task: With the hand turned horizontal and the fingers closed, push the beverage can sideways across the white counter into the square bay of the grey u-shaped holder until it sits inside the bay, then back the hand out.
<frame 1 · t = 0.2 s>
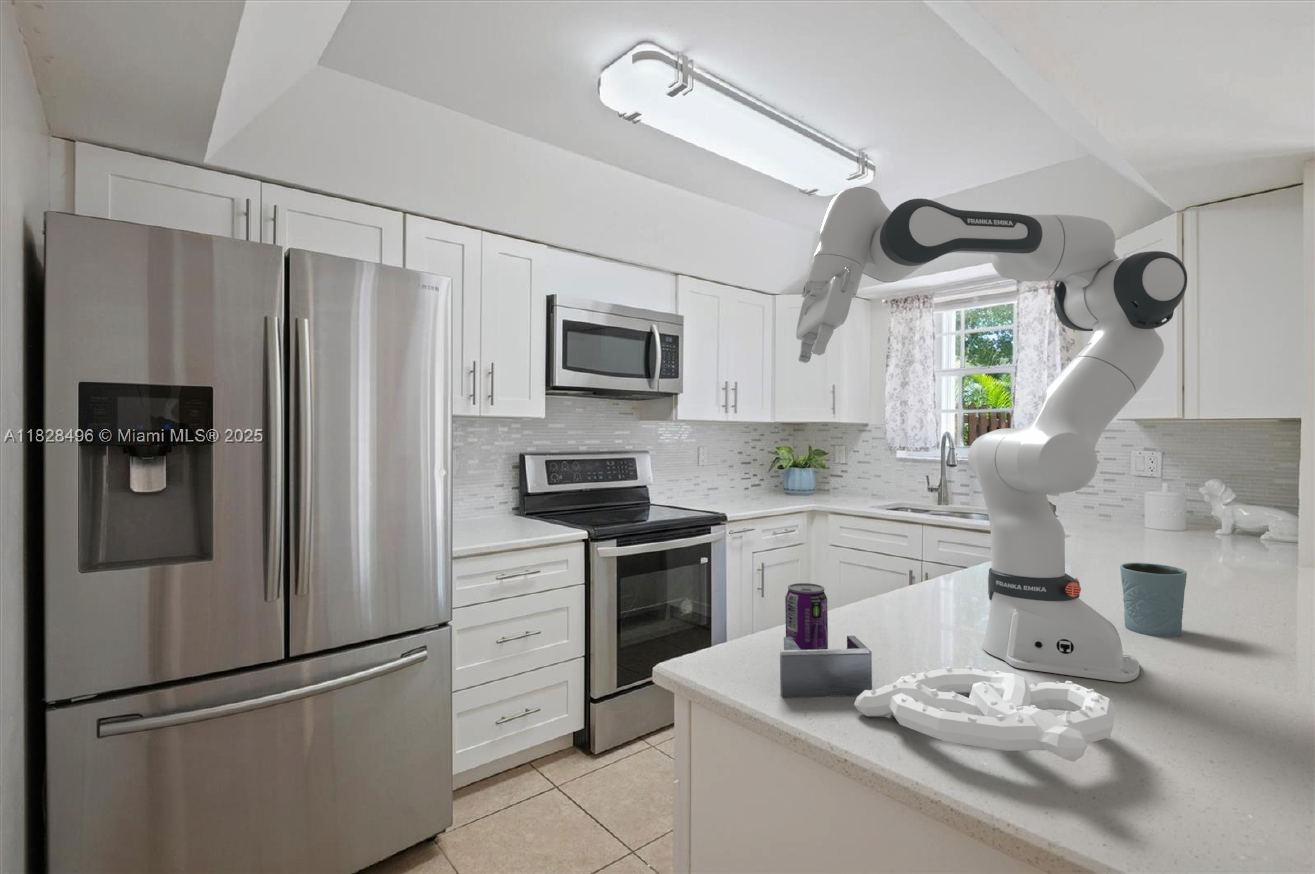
hand: (810, 358, 109), 51 cm above the counter, fingers open, 8 cm apart
pretzel: (986, 733, 81), on the counter
teal embossed flower pot: (1153, 631, 121), on the counter
beverage can: (806, 657, 110), on the counter
grey u-shaped holder: (825, 680, 99), on the counter
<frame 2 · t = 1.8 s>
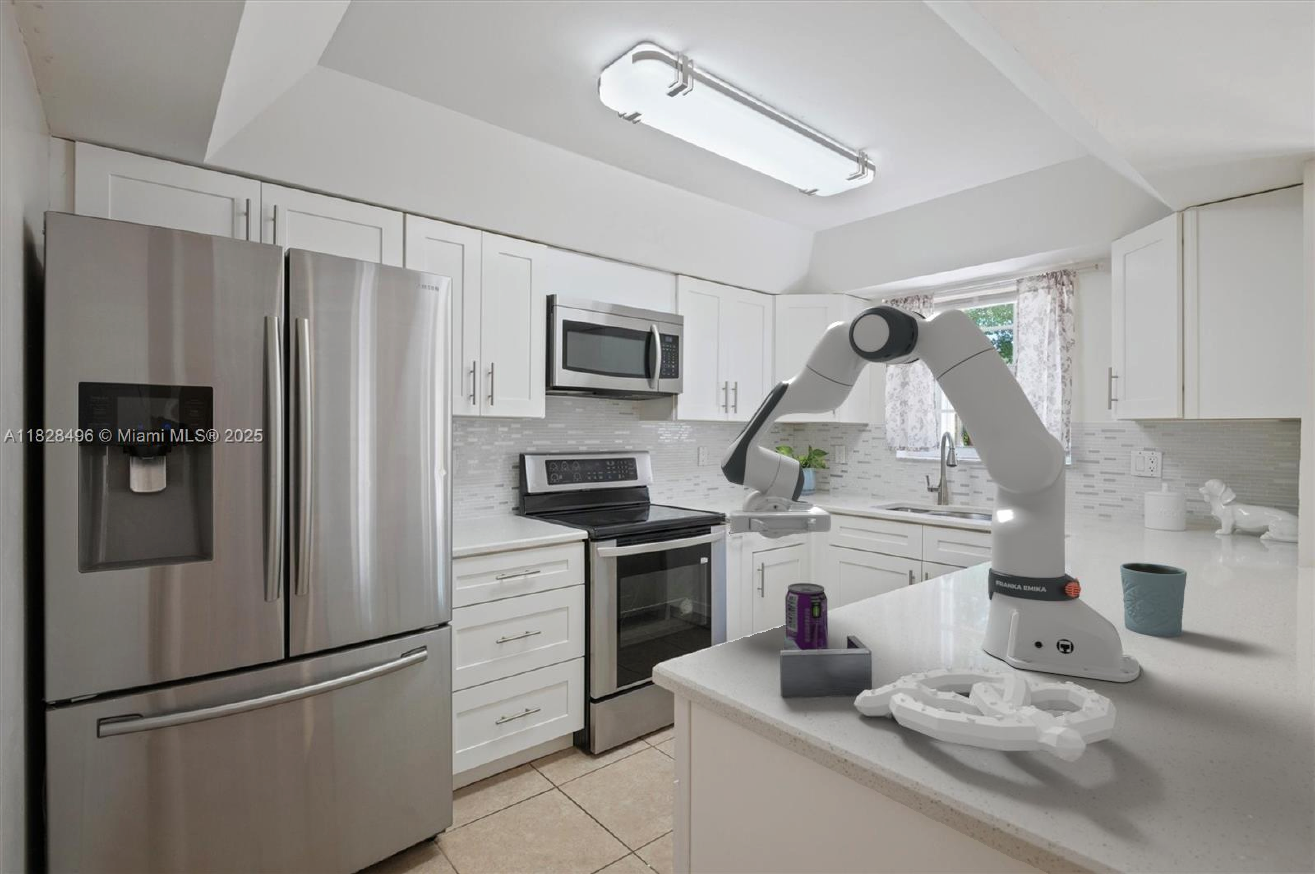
hand: (788, 527, 121), 21 cm above the counter, fingers open, 8 cm apart
nothing on the counter moved.
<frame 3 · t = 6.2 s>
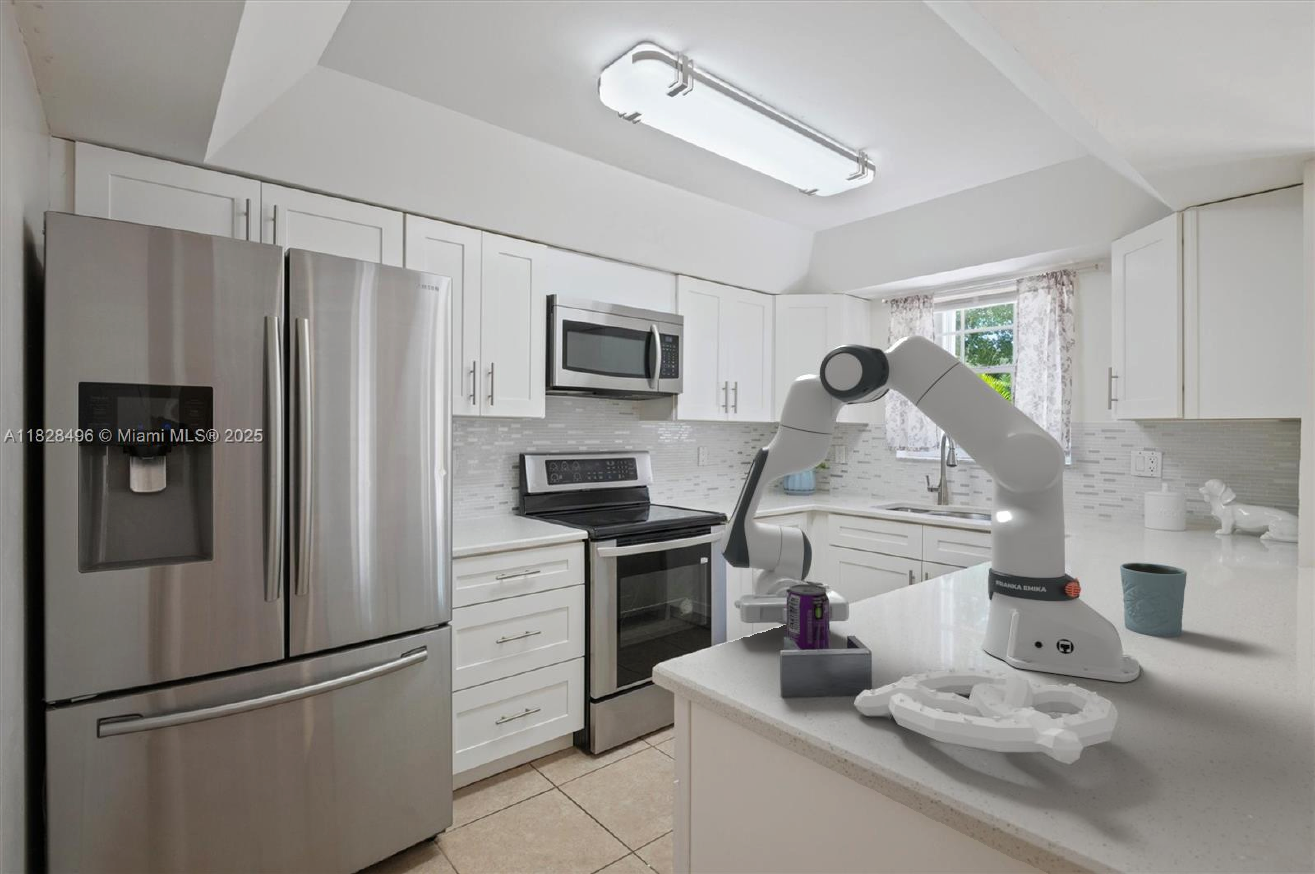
hand: (802, 620, 112), 5 cm above the counter, fingers closed
beverage can: (808, 659, 108), on the counter, touching gripper
everything else where it was.
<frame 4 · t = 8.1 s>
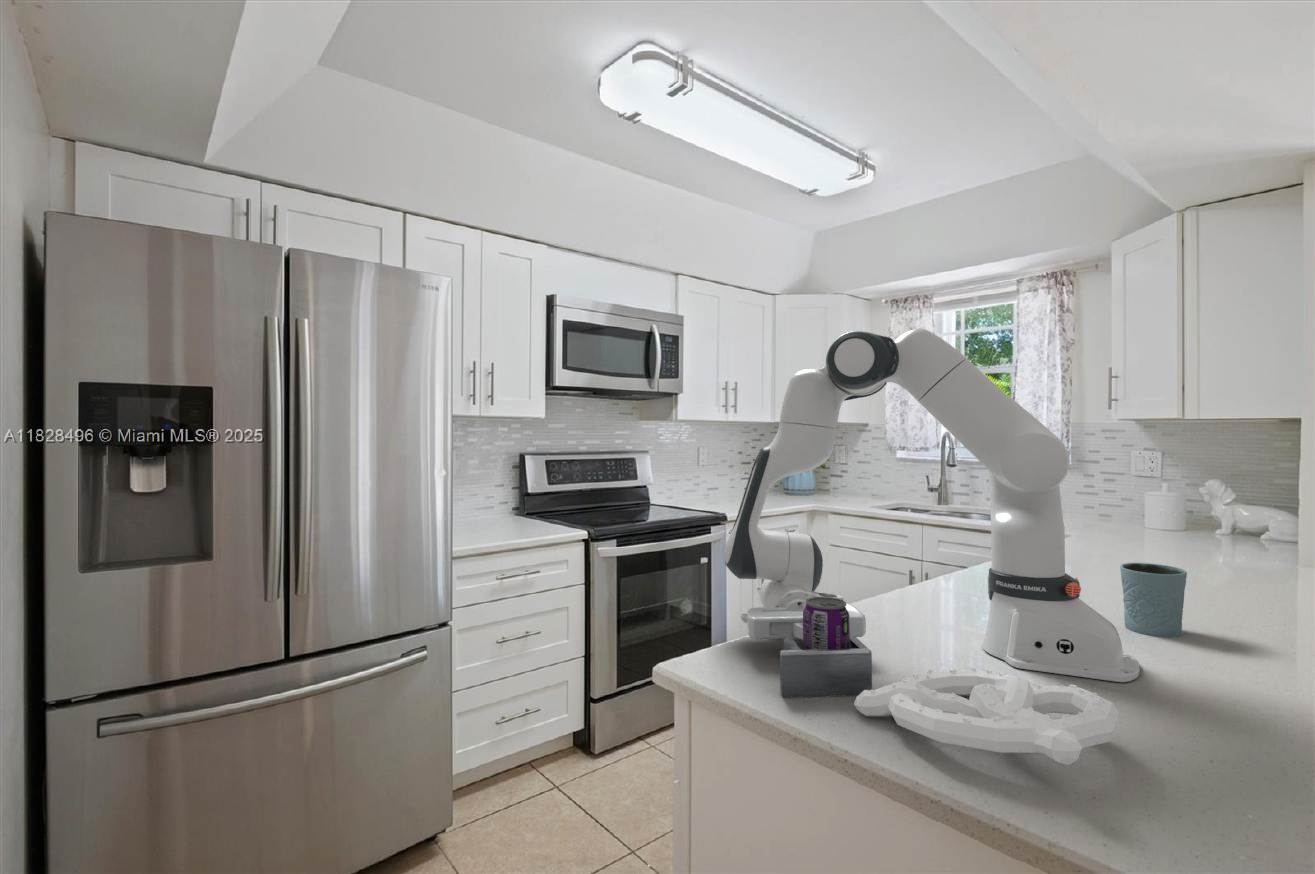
hand: (816, 636, 103), 6 cm above the counter, fingers closed, pressing on beverage can
beverage can: (826, 679, 100), on the counter, touching gripper
everything else where it was.
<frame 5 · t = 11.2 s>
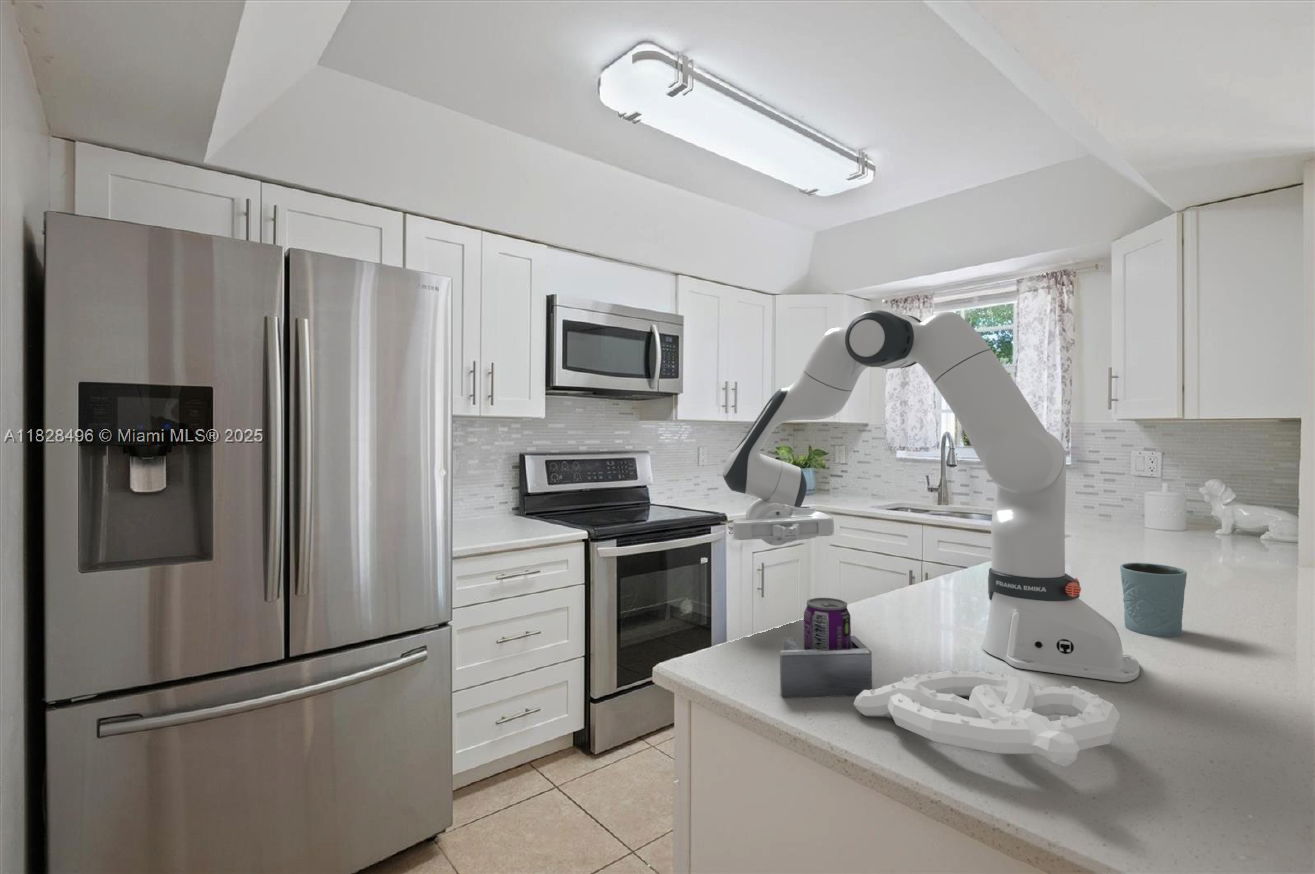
hand: (790, 532, 121), 20 cm above the counter, fingers closed
beverage can: (827, 680, 99), on the counter
everything else where it was.
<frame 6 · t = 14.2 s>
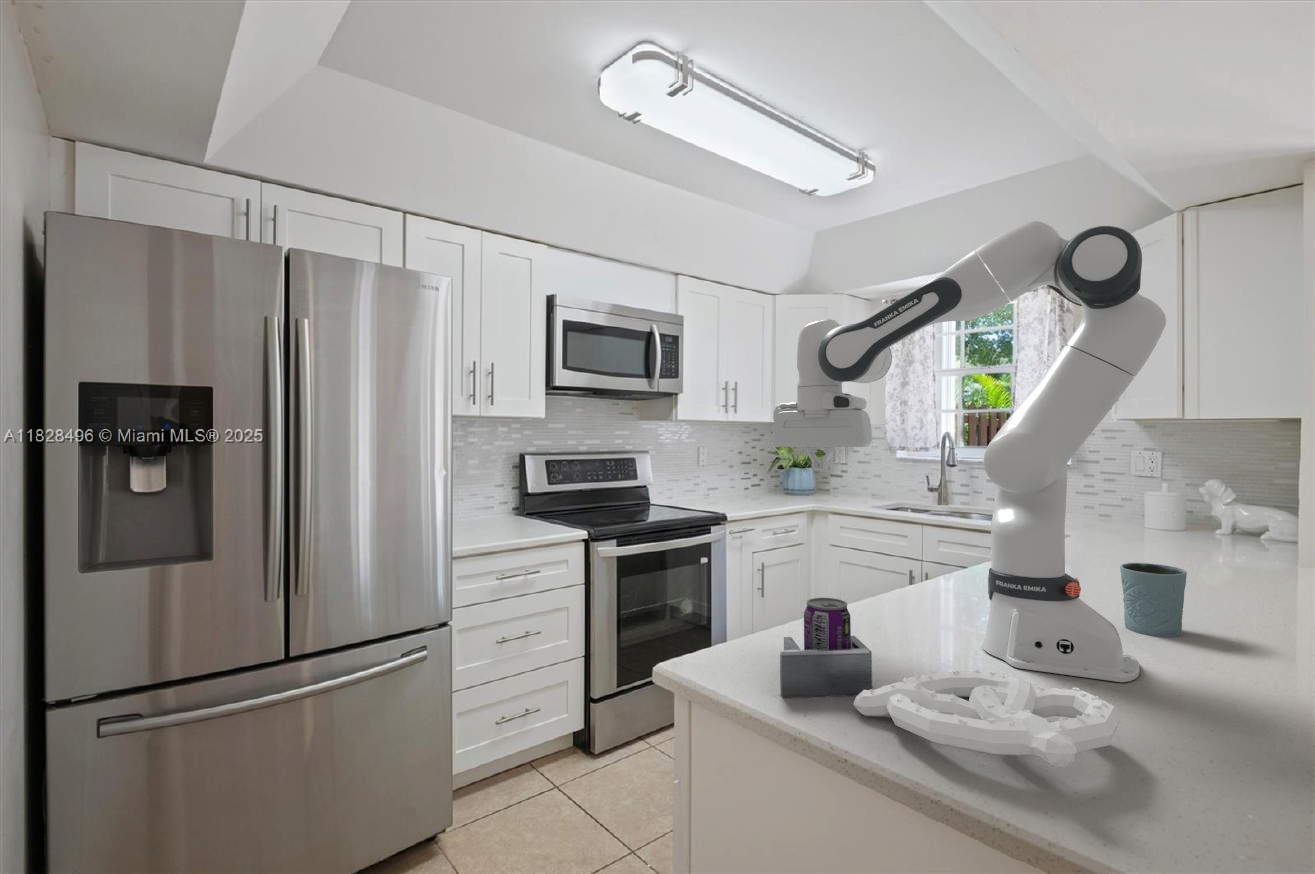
hand: (820, 469, 129), 31 cm above the counter, fingers closed
at the end: beverage can 1.1 cm from the grey u-shaped holder (horizontally); beverage can tilted 0°; beverage can touching counter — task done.
